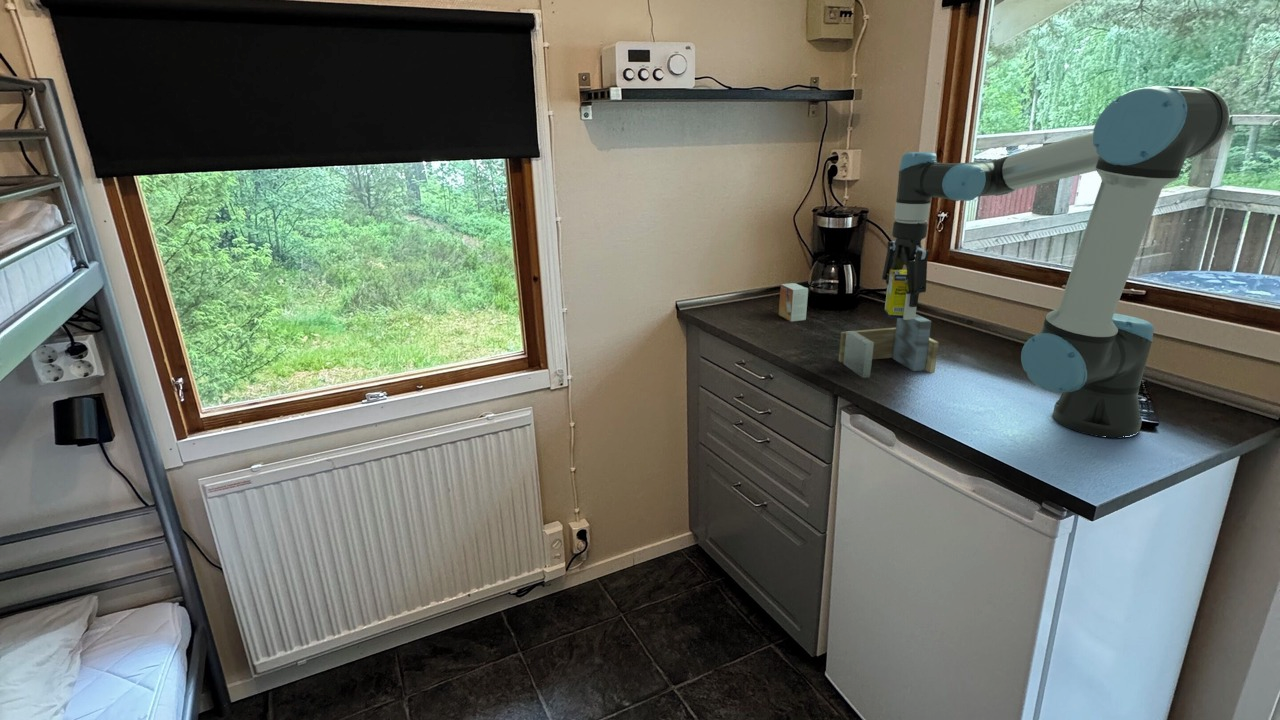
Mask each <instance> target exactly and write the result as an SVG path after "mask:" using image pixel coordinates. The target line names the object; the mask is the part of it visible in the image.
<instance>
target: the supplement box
mask: <svg viewBox="0 0 1280 720" xmlns="http://www.w3.org/2000/svg"><path fill="white" fill-rule="evenodd" d="M913 288H914V287H913ZM908 291H909V288H908V278H907V269H902V270H900V269H897V270H892V269H891V270H890V275H889V284H888V293H887V301H886V300H885V302H886V310H885V309H884V311H885V313H886V316H887V317H888V318H889V319H897V318H903V315H904V307H905V299H906V292H908Z"/></svg>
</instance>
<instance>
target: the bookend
mask: <svg viewBox="0 0 1280 720" xmlns="http://www.w3.org/2000/svg"><path fill="white" fill-rule="evenodd" d="M855 331H856V330H848V331H847V330H846V331H845V332H846V341H845V352H844V362H842V363H843V365H844V366H845V367H847V368H848V369H850V370H851V371H853V372H854V373H855V374H857V375H858V376H859V377H861V378H862V379H863V378H864V379H865V378H871V372H872V371H871V370H872V363H873V359H872V355H873V346H874V342H872V341H870V340H869V339H867V338H865V337H863V336H862V335H860V334H858V333H857V332H855Z"/></svg>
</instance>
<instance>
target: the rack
mask: <svg viewBox="0 0 1280 720" xmlns="http://www.w3.org/2000/svg"><path fill="white" fill-rule="evenodd" d="M931 325H932V320H930V319H929V318H926V317H924V316H922V315H919V314H917V313H916V315H915V319H911V320H904V319H903V318H896V324H895V327H885V328H884V327H883V328H873V329H872V328H871V329H862V330H860V329H859V330H854V331H855V332H857V333H858V334H860V335H862V336H863V337H865V338H867V339H869V340H870V341H872V342H874V346H873V355H872V360H879V359H880V360H881V359H890V358H892V359H893V360H895V361H896V362H898V363H900V364H901V365H903V366H904V367H906V368H908V369H909V370H911V371H913V372H921V371H926V372H928V373H930V374H933V373H935V371H936V364H937V357H938V352H939V351H938V350H939V341H938V340H935V339H934V338H931V337H930V335H931V327H932V326H931ZM845 341H846V331H841V332H840V341H839V351H838V362H840V363H844V352H845Z"/></svg>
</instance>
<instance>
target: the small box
mask: <svg viewBox="0 0 1280 720" xmlns="http://www.w3.org/2000/svg"><path fill="white" fill-rule="evenodd" d="M779 292H780V294H779V303H778V304H779V305H778V306H779V307H778V315H779V316H780V317H782V318H784V319H785V320H787V321H789V322H791V323H792V322H799V321H806V319H807V310H808V309H807V307H808V297H809V288H808V287H805V286H803V285H801V284H798V283H797V282H796V283H795V282H793V283H790V282H789V283H781V284H780V291H779Z"/></svg>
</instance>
